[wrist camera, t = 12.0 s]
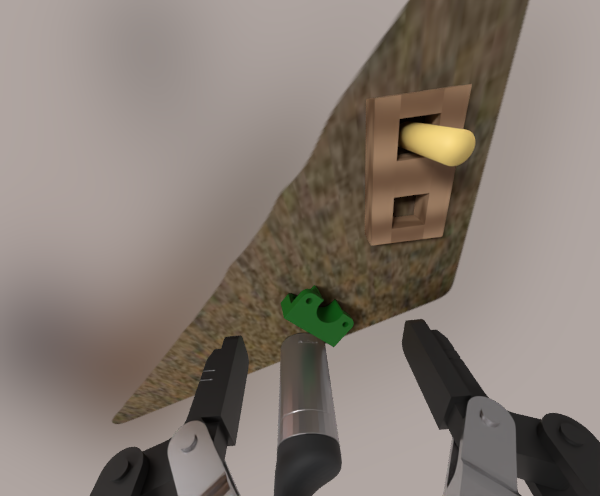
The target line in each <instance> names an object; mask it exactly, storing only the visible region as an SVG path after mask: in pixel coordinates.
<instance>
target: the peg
mask: <svg viewBox="0 0 600 496" xmlns="http://www.w3.org/2000/svg"><path fill="white" fill-rule="evenodd" d="M398 146H399V147H401V148H404V149H406V150H409V151H412V152H414V153H417V154H419V155H422V156H424V157H427V158H429V159H432V160H434V161H437V162H440V163H442V164H445V165H447V166H457V165H459V164H461V163H463V162H464V161H466V160H467V159H468V158H469V157H470V155H471V154H472V152H473V150H474V147H475V137H474V135H473V134H472V132H470V131H469V130H465V129H458V128H451V127H444V126H438V125H431V124H424V123H417V122H410V121H407V122H404V123H402V124H400V125H399V135H398Z"/></svg>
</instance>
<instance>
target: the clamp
mask: <svg viewBox="0 0 600 496" xmlns="http://www.w3.org/2000/svg"><path fill="white" fill-rule="evenodd" d="M323 301H324V300H323V298H322V296H321V294H320V292H319V290H318V288H317V287H316V286H315V285H314V286H313V287H312V288H311V289H305V290H303V291H302V292H301V293H300V294H299V295H298V296H297V297H296V296H294V295H293V294H291V293H289V294H288V295H287V296H286V297H285V298H284V299H283V301H282V302H281V306H282V310H283V315H284V318H285V319H286V320H288V321H290V322H292V323H293V324H295V325H297V326H298V327H300V328H302V329H304V330H305V331H307V332H309V333H310V334H312V335H314V336H316V337H317V338H319V339H321V340H322V341H324V342H326V343H328V344H329V345H331V346H333V347H334V346H335V345H336V344H337V343H338V342H339V341H340V340H341V339H342V338H343V337H344V336H345V335H346V333H347V332H348V331H349V330H350V329H351V328H352V327H353V324H354V322H353V320H352V318H351V317H350V315H349V314H348V313H346V312H345V311H343V310H342V308H341V307H340V305H339V304H338V302H337V300H335V299H334V300H333V302H332V303H331V304H330V305H328V306H326V307H318V306H319V305H320V303H321V302H323Z"/></svg>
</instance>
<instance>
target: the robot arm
mask: <svg viewBox="0 0 600 496" xmlns="http://www.w3.org/2000/svg"><path fill="white" fill-rule="evenodd" d="M402 347H403V351H404V354H405V357H406V359H407V361H408V363H409V365H410V367H411V369H412V372H413V374H414V376H415V378H416V380H417V383H418V385H419V387H420V389H421V391H422V393H423V395H424V398H425V400H426V402H427V404H428V406H429V408H430V411H431V413H432V415H433V417H434V419H435V421H436V424H437V426H438V428H439V430H441V429H449V431H450V432H451V435H452V437H453V438H452V443H451V449H450V456H449V462H448V469H447V475H446V482H445V487H444V492H443V496H521V495H520V494H519V493H518V489H517V478H520V479H523V480H525V482H526V484H527V485H528V487H529V489H530V491H531V492H532V494H533V495H534V496H600V442H599V441H598V440H597V439H596V437H595V436H594V435H593V434H592V433H591V432H590V431H589V430H588V429H587V428H585V427H584V426H583V425H582V424H580V423H578V422H577V421H575V420H574V419H572V418H570V417H567V416H565V415H562V414H558V413H549V414H546V415H545V416H544V417H543V418H542V420H541V419H537V418H533V417H528V416H524V415H519V414H516V413H512V412H509V411H507V410H506V409H505V408H504V407H503V406H502V405H500V404H499V403H497V402H496V401H494V400H492V399H490V398H489V397H488V396H487V395H486V394H485V393H484V391H483V390H482V389H481V387H480V385H479V384H478V382H477V381H476V380H475V378H474V377H473V375H472V374H471V373H470V371H469V369H468V368H467V366H466V365H465V363H464V362H463V361H462V360H461V359H460V356H459V355H458V353H457V352H456V351H455V350H454V347H453V346H452V344H451V343H450V342H449V340H448V339H447V338H446V337H445V336H444V335H443V334H441V333H440V332H439V331H438V330H430V328H429V327H428V325H427V324H426V322H425V321H424V320H423V319H418V320H408V321H406V322H405V327H404V333H403V339H402ZM248 365H249V360H248V354H247V351H246V348H245V344H244V341H243V338H242V336H230V337H225V339H224V341H223V345H222V348H221V349H215V350H214V351H213V352H212V354H211V355H210V356H209V358H208V359H207V361H206V364H205V367H204V370H203V371H204V372H203V373H202V376H201V379H200V382H199V385H198V388H197V391H196V394H195V397H194V400H193V403H192V406H191V408H190V412H189V415H188V417H187V420H186V422H185V424H184V425H183V426H181V427H180V428H179V429H178V430H177V431H176V433H175V434H174V435H173V437H172V438H170V439H169V440H167V441H165V442H163V443H161V444H158V445H156V446H154V447H152V448H150V449H147V450H145V451H143V452H142V451H141V450H140V449H139V448H137V447H129V448H126V449H124V450H122V451H120V452H119V453H117V454H116V455H115V456H114V457H113V458H112V459H111V460H110V461H109V462H108V463H107V464H106V466H105V467H104V469H103V470H102V472H101V474H100V476H99V478H98V480H97V482H96V484H95V486H94V488H93V490H92V492H91V494H90V496H240V494H239V492H238V489H237V487H236V484H235V482H234V480H233V478H232V475H231V473H230V471H229V468H228V466H227V464H226V461H225V454H226V449H227V446H234V445H235V444H236V438H237V432H238V425H239V420H240V414H241V408H242V402H243V396H244V389H245V384H246V378H247V373H248ZM341 464H342V461H341V452H340V446H339V438H338V432H337V424H336V418H335V412H334V404H333V398H332V390H331V383H330V376H329V370H328V362H327V355H326V348H325V343H324V341H322V340H321V339H319V338H317V337H316V336H314V335H312V334H309V333H300V334H295V335H292V336H290V337H288V338H287V339H286V340H285V341H284V342H283V343H282V346H281V364H280V390H279V416H278V445H277V463H276V470H275V485H274V496H312V495H313V494H314V493H315V492H316V491H317V490H318V489H319V488H321V487H322V486H323V485H325V484H326V483H327V482H329V481H331V480H332V479H333V478H334V477H336V476H337V475H338V473H339V472H340V470H341Z"/></svg>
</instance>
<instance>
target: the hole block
mask: <svg viewBox="0 0 600 496" xmlns="http://www.w3.org/2000/svg"><path fill="white" fill-rule="evenodd" d="M471 86H472V84H469V85H460V86H451V87H444V88H438V89H431V90H424V91H418V92H411V93H404V94H398V95H391V96H384V97H377V98H371V99H366V166H365V235H366V237H367V239H368V241H369V242H370V244H371V246H372V245H380V244H388V243H396V242H403V241H411V240H419V239H427V238H435V237H442V236H443V231H444V226H445V221H446V215H447V210H448V205H449V200H450V195H451V190H452V184H453V179H454V174H455V169H456V166H447V165H445V164H442V163H440V162H437V161H434V160H432V159H429V158H427V157H424V156H422V155H419V154H417V153H414V152H411V153H404V154H397V149H398V135H399V121H400V119H402V118H409V117H416V116H423V115H426V116H425V124H431V125H438V126H444V127H451V128H458V129H463V128H464V123H465V117H466V112H467V107H468V102H469V97H470V92H471ZM410 195H416V200H415V208H414V215H408V216H400V217H393V205H394V198H395V197H403V196H410Z"/></svg>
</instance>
